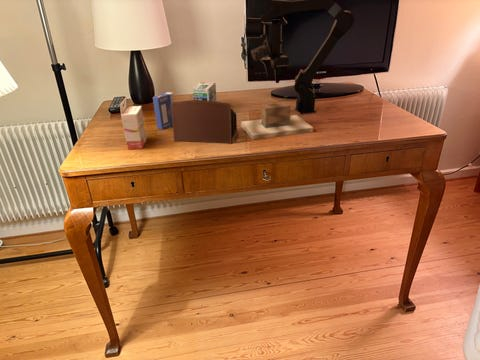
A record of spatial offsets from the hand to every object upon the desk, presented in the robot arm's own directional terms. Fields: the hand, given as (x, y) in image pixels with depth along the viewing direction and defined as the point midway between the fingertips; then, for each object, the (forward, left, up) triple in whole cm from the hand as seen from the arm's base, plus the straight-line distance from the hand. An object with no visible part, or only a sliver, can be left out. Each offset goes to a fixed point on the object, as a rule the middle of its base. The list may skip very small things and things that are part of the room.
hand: (272, 80), depth 135 cm
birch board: (+6, +20, -12) cm, 24 cm away
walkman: (+43, +4, -12) cm, 45 cm away
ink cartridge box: (+54, +18, -12) cm, 58 cm away
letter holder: (+31, +19, -12) cm, 39 cm away
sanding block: (+6, +20, -10) cm, 23 cm away
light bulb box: (+26, -8, -12) cm, 30 cm away
